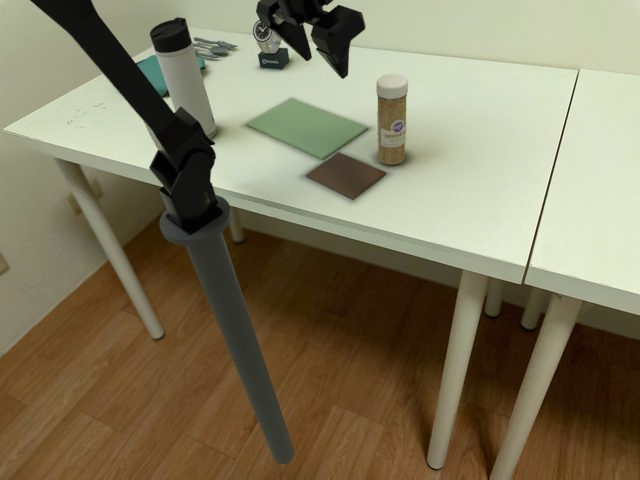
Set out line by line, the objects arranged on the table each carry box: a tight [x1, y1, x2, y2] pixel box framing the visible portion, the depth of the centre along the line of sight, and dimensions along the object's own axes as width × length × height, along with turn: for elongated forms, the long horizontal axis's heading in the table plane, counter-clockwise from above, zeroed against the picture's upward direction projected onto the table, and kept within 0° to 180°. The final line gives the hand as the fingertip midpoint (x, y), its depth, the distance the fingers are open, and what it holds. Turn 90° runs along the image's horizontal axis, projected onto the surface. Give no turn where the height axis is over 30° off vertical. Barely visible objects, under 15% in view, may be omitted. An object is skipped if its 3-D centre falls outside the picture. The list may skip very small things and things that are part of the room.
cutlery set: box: [135, 36, 238, 97], centre depth 111 cm, size 20×30×2 cm, turn 147°
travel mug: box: [149, 16, 218, 139], centre depth 82 cm, size 6×7×20 cm
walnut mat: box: [305, 151, 387, 200], centre depth 74 cm, size 8×10×1 cm
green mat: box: [246, 98, 369, 161], centre depth 86 cm, size 12×20×1 cm, turn 46°
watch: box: [252, 17, 290, 70], centre depth 105 cm, size 6×8×11 cm
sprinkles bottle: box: [375, 73, 409, 166], centre depth 72 cm, size 5×5×14 cm
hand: (326, 67), depth 71 cm, fingers open, 9 cm apart
